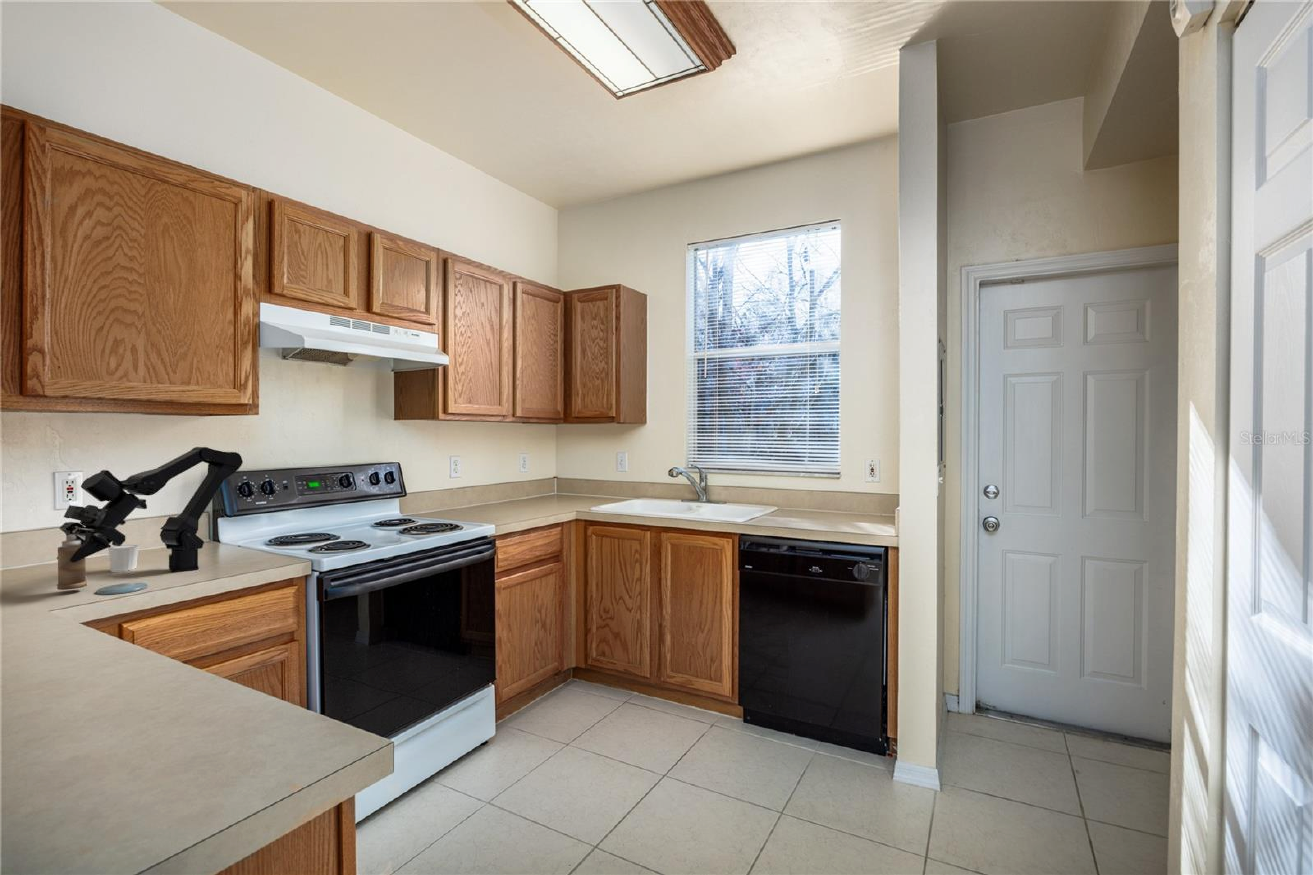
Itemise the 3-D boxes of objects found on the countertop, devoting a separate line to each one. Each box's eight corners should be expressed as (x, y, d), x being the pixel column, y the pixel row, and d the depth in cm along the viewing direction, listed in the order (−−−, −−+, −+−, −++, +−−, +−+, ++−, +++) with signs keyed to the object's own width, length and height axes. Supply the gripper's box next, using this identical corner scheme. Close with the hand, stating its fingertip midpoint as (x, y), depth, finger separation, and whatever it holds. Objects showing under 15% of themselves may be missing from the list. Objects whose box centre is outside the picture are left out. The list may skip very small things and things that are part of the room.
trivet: (146, 583, 170) (146, 580, 170) (147, 590, 162) (147, 588, 162) (97, 588, 163) (97, 586, 163) (96, 596, 156) (96, 594, 156)
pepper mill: (87, 583, 164) (86, 531, 164) (86, 587, 160) (85, 534, 159) (58, 586, 160) (57, 533, 160) (56, 591, 156) (55, 536, 156)
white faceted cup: (103, 571, 183) (103, 547, 183) (132, 566, 189) (132, 543, 189) (114, 573, 180) (114, 549, 180) (143, 569, 186) (143, 545, 186)
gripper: (68, 492, 166) (14, 539, 156) (111, 495, 160) (58, 545, 150) (103, 517, 174) (54, 564, 164) (145, 521, 167) (97, 570, 157)
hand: (65, 560), depth 158 cm, fingers closed on pepper mill, 5 cm apart
